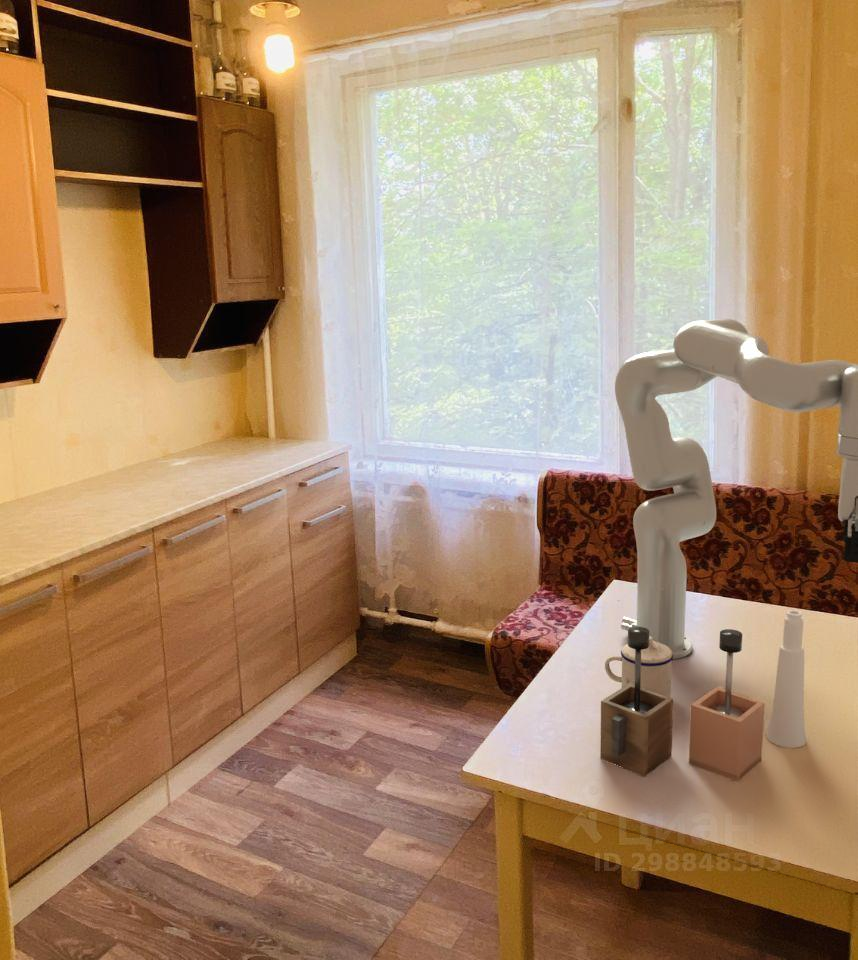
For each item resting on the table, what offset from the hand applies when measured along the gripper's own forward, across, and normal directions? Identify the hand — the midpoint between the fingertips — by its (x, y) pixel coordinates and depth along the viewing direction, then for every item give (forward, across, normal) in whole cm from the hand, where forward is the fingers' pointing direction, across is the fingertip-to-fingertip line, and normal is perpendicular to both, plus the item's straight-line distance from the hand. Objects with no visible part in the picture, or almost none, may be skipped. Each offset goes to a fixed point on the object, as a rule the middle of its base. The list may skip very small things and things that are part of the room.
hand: (854, 552), depth 139 cm
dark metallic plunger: (+23, +21, -29) cm, 43 cm away
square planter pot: (+31, +18, -16) cm, 39 cm away
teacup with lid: (+31, 0, -33) cm, 45 cm away
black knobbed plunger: (+23, +18, -16) cm, 33 cm away
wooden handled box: (+31, +21, -29) cm, 48 cm away
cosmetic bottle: (+31, +7, -8) cm, 33 cm away
